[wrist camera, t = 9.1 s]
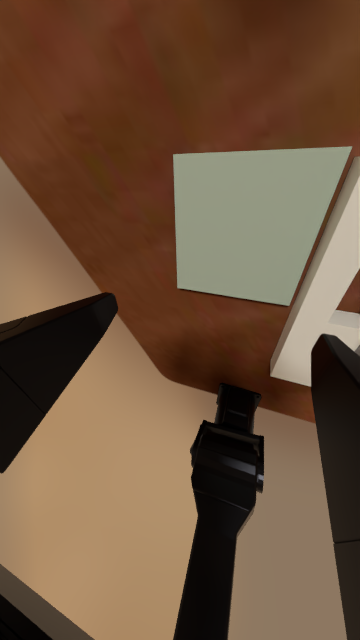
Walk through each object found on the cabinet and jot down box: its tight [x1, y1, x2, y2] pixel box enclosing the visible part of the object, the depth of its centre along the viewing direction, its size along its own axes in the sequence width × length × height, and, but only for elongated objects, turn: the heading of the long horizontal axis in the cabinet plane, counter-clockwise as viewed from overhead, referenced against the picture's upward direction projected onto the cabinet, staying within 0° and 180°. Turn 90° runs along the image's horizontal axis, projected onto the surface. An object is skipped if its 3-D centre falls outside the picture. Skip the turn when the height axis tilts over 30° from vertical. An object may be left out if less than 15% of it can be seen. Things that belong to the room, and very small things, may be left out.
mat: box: [173, 147, 352, 306], centre depth 18 cm, size 12×12×1 cm
